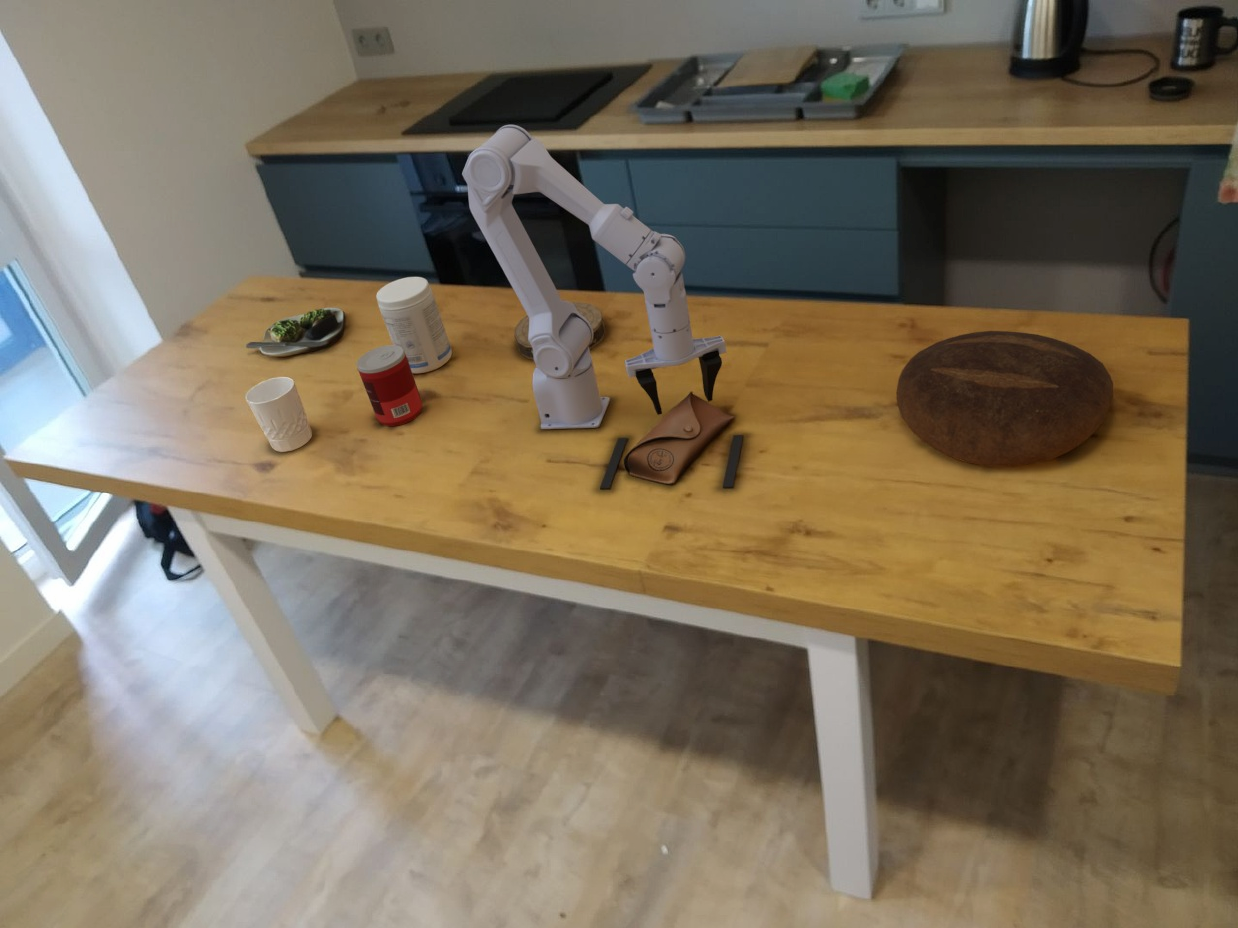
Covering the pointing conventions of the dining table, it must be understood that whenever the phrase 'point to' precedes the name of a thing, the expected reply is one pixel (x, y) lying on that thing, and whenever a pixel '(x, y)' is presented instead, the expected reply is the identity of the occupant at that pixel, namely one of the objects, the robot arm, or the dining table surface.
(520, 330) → the tan round flat disc
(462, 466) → the dining table surface
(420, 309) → the supplement tub
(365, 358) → the canned food
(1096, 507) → the dining table surface
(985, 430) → the bread
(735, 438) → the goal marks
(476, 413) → the dining table surface
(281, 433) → the white cup
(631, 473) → the sunglasses case
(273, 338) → the salad plate
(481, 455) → the dining table surface
